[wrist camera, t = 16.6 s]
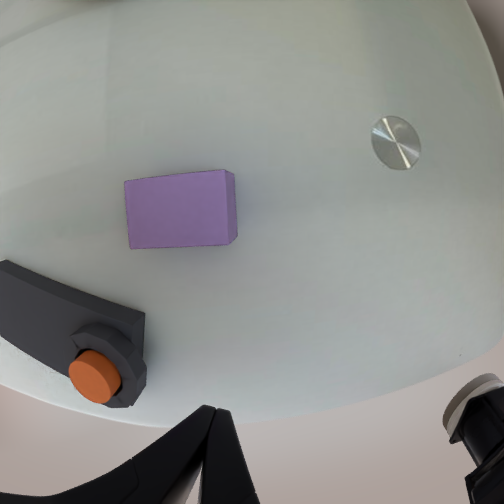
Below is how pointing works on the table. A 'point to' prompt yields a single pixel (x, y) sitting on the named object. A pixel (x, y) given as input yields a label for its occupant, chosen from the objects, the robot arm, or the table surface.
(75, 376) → the orange push button
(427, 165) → the table surface
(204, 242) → the soap bar
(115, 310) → the button base
